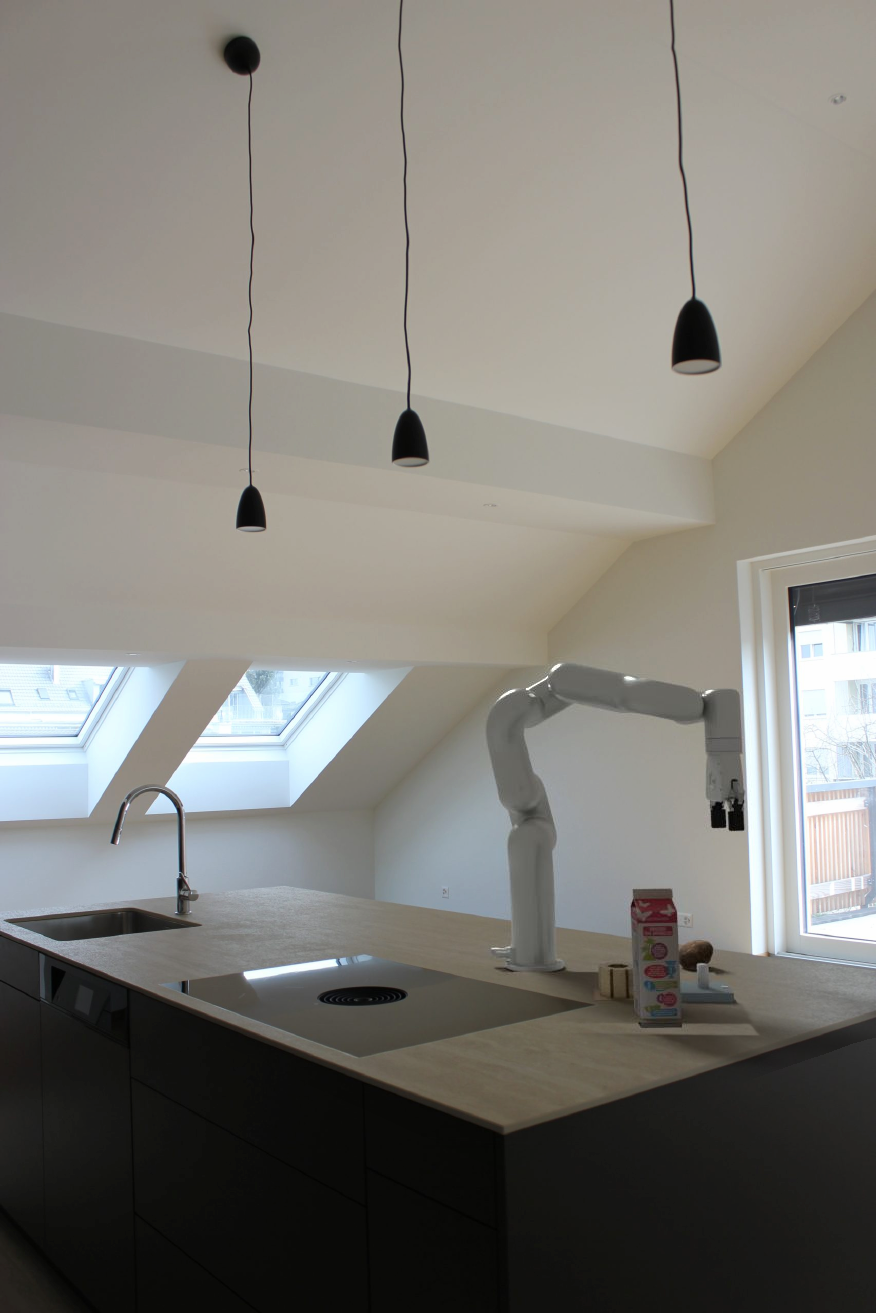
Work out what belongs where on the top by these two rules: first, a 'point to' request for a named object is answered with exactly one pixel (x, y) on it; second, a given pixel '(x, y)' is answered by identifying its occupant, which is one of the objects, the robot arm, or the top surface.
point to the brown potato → (695, 954)
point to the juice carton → (655, 957)
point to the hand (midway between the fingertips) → (727, 829)
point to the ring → (616, 980)
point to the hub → (705, 988)
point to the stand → (599, 997)
